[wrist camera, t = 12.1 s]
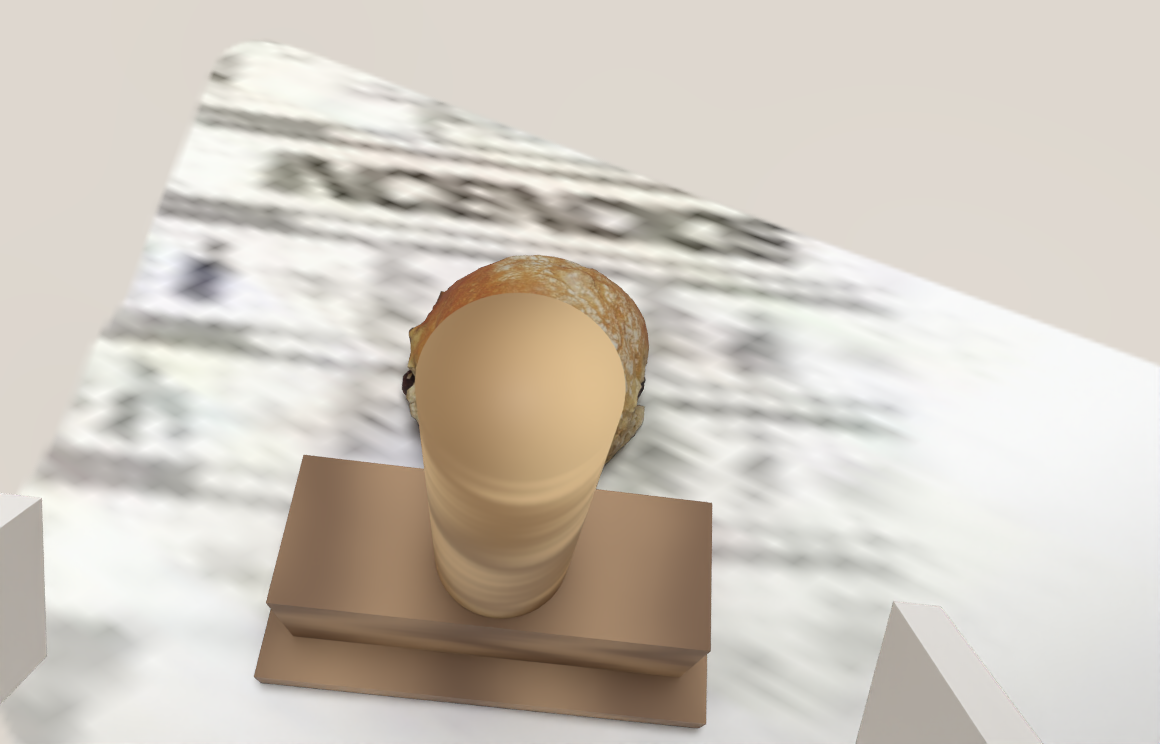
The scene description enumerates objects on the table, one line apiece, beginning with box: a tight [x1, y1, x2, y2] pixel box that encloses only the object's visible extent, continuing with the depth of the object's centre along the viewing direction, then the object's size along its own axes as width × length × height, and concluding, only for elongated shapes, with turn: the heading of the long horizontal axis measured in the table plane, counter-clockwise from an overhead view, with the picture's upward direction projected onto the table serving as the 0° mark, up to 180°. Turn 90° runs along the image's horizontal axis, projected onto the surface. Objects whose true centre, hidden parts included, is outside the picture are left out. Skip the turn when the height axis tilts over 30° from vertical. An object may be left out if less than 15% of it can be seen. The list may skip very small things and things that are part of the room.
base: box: [254, 455, 712, 728], centre depth 32 cm, size 16×8×6 cm, turn 85°
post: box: [415, 293, 626, 619], centre depth 24 cm, size 4×4×12 cm
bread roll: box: [402, 255, 649, 464], centre depth 37 cm, size 10×10×8 cm
